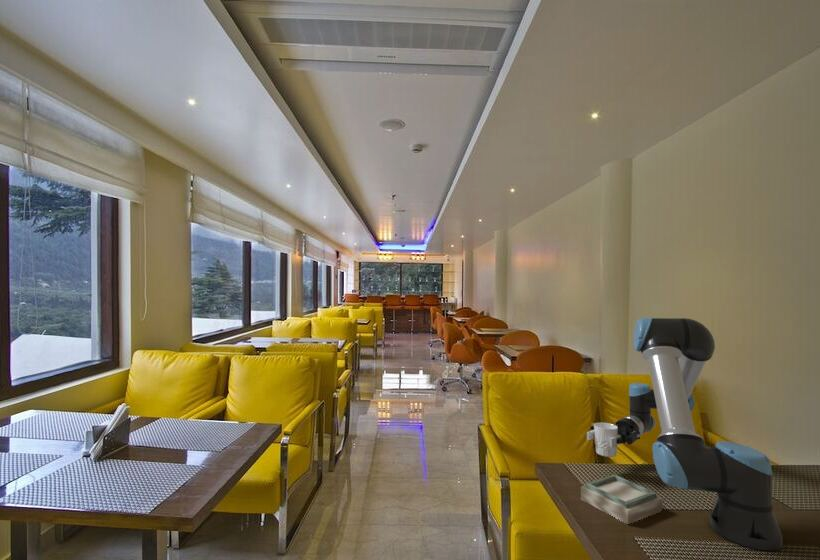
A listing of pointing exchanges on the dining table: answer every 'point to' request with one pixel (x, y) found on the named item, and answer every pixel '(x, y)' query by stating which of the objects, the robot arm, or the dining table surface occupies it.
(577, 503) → the dining table surface
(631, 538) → the dining table surface
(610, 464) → the dining table surface
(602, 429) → the white cup
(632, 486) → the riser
